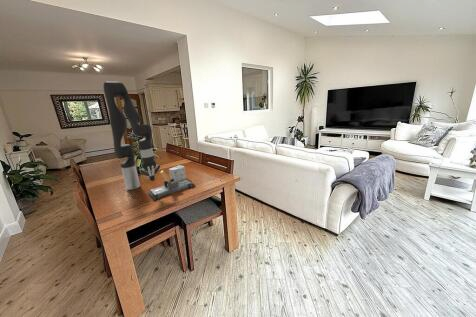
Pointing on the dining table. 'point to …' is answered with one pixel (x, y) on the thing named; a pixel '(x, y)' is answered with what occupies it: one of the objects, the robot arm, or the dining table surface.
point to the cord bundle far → (191, 185)
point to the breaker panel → (165, 189)
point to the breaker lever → (165, 176)
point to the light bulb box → (177, 173)
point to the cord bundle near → (153, 196)
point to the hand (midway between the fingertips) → (152, 180)
